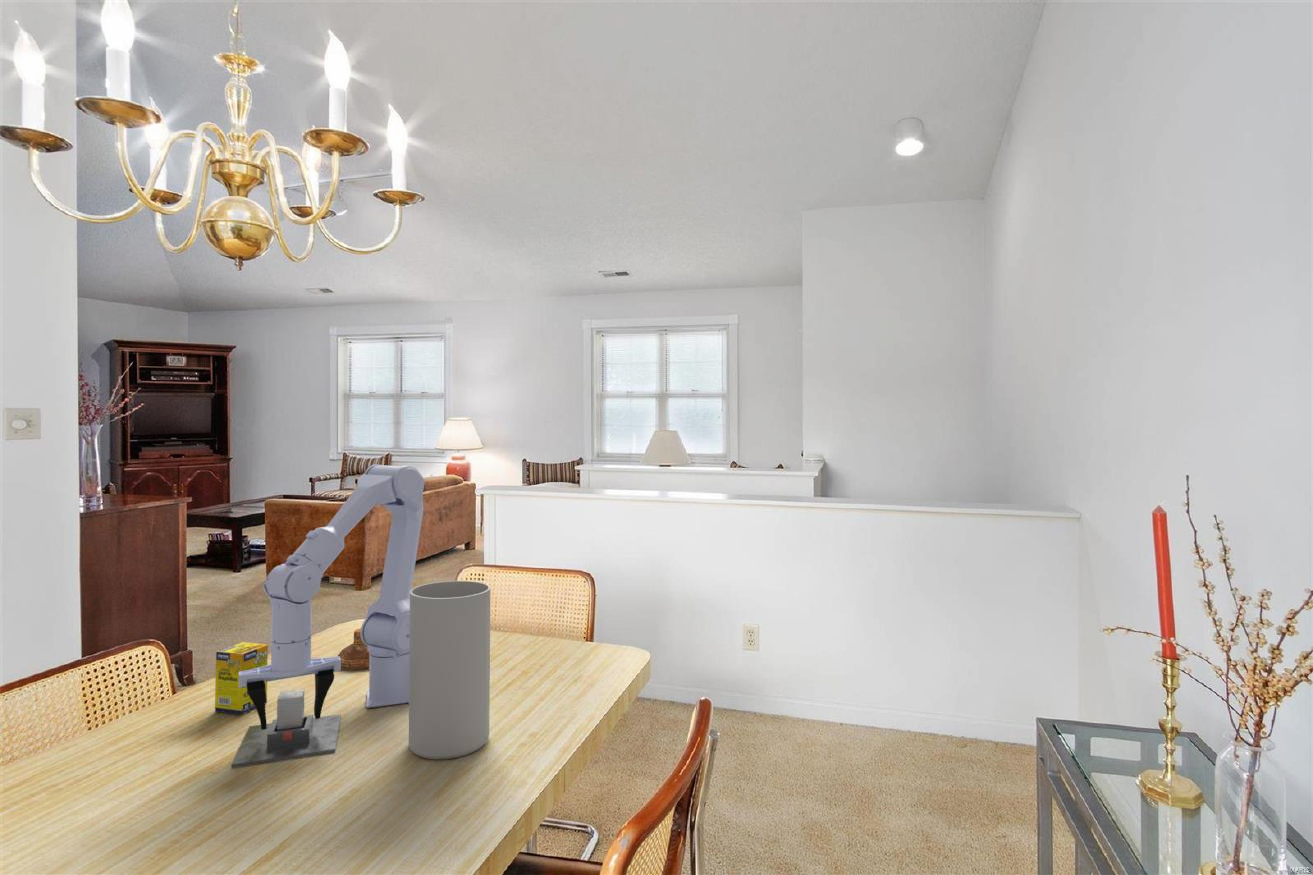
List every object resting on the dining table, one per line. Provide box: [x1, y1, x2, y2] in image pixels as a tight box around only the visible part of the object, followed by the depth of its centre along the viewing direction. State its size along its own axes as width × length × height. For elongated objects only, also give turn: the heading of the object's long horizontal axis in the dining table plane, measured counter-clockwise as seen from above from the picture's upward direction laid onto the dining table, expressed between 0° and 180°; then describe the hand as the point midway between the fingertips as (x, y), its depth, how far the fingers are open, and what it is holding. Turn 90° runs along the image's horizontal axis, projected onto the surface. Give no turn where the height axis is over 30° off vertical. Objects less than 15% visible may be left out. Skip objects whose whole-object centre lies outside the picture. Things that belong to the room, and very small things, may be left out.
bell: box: [336, 627, 370, 671], centre depth 147 cm, size 12×12×7 cm
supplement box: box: [214, 641, 269, 716], centre depth 122 cm, size 6×6×11 cm
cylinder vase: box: [408, 580, 492, 760], centre depth 109 cm, size 12×12×25 cm
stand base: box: [231, 713, 342, 768], centre depth 109 cm, size 14×14×3 cm
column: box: [276, 688, 305, 731], centre depth 109 cm, size 4×4×7 cm
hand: (290, 721), depth 109 cm, fingers open, 7 cm apart
